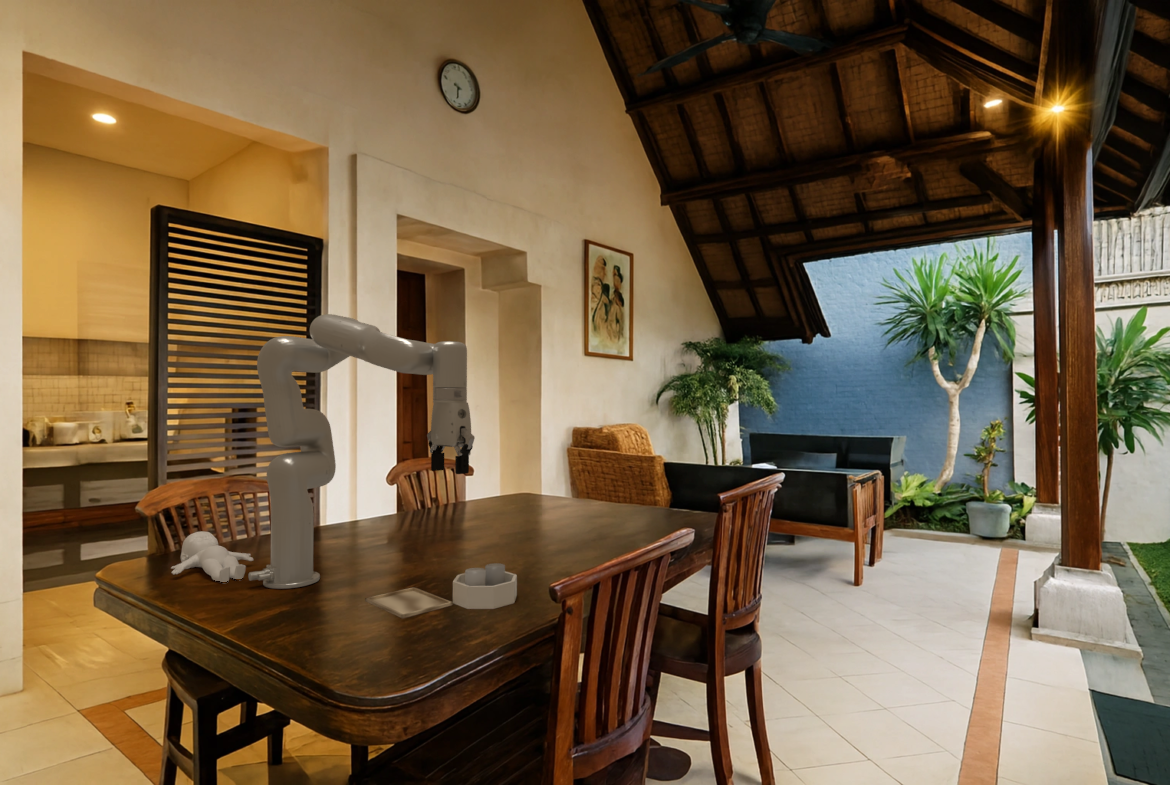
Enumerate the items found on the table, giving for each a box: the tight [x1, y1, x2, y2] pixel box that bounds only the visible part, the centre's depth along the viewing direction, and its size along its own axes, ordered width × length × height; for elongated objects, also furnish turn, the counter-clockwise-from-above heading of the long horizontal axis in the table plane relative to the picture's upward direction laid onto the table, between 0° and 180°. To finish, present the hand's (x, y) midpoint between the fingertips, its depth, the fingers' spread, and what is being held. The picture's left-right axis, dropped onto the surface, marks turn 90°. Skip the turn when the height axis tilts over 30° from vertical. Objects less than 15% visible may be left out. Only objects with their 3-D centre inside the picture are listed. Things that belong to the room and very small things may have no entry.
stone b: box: [484, 562, 506, 586], centre depth 144 cm, size 4×4×6 cm
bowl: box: [452, 570, 518, 610], centre depth 142 cm, size 13×13×5 cm
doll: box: [170, 530, 254, 583], centre depth 167 cm, size 19×9×30 cm
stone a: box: [464, 567, 486, 586], centre depth 140 cm, size 4×4×6 cm
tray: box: [364, 586, 454, 619], centre depth 139 cm, size 12×16×1 cm
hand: (449, 472), depth 145 cm, fingers open, 9 cm apart
